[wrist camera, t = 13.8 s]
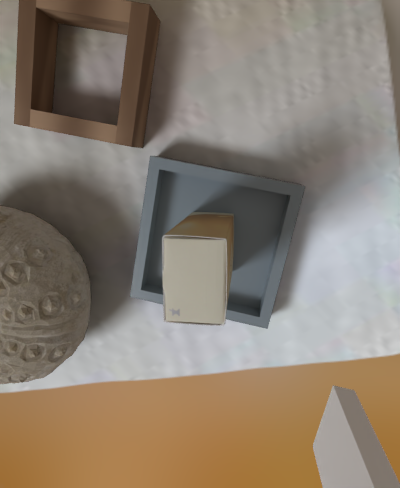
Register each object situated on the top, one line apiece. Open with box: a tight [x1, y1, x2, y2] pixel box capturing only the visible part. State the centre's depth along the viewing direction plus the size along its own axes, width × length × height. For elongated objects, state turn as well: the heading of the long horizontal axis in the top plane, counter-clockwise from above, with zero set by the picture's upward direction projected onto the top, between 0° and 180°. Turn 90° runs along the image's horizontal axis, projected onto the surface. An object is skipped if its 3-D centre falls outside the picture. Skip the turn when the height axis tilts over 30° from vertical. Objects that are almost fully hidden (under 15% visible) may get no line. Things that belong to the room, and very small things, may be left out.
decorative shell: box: [0, 206, 91, 384], centre depth 34 cm, size 18×18×10 cm
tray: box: [130, 156, 305, 329], centre depth 33 cm, size 14×14×2 cm
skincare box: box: [162, 212, 234, 326], centre depth 28 cm, size 6×4×12 cm
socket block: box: [14, 0, 160, 148], centre depth 31 cm, size 11×11×4 cm
